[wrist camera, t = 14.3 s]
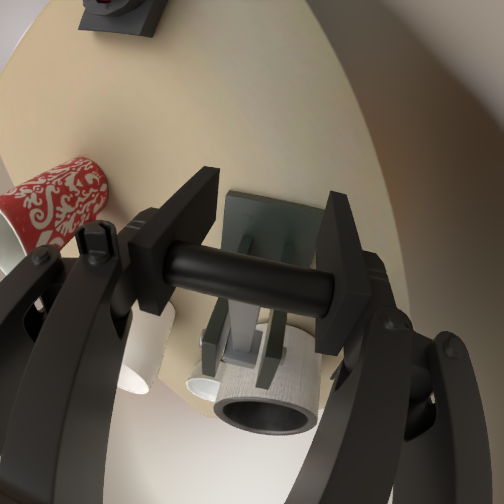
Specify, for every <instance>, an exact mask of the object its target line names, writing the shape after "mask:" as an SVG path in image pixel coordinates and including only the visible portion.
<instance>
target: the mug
mask: <svg viewBox="0 0 504 504" xmlns="http://www.w3.org/2000/svg"><path fill="white" fill-rule="evenodd" d="M107 198H108V188H107V183H106V179H105V177H104V175H103V173H102V171H101V169H100V168H99V167H98V166H97V165H96V164H95V163H94V162H93V161H91V160H89V159H87V158H76V159H73V160H71V161H68V162H66V163H64V164H62V165H59V166H57V167H55V168H53V169H51V170H48V171H46V172H44V173H42V174H40V175H38V176H36V177H34V178H32V179H30V180H28V181H26V182H24V183H22V184H21V185H19V186H17V187H15V188H13V189H11V190H10V191H8V192H6V193H5V194H3V195H1V196H0V268H1V270H2V271H3V272H4V273H5V275H6V276H7V275H8V274H9V273H10V272H11V271H12V269H13V268H14V267H15V266H16V265H17V264H18V263H19V262H20V261H21V260H22V259H23V258H24V257H25V256H27V255H28V254H29V253H30V252H31V251H32V250H34V249H35V248H37V247H39V246H41V245H45V244H52V245H55V246H57V247H58V248H59V250H61V249H62V248H63V247H64V246H65V245H66V244H67V243H68V242H69V241H70V240H71V239H72V238H73V237H74V236H75V233H74V231H75V230H76V229H77V228H78V227H80V226H81V225H83V224H85V223H88V222H91V221H96V215H97V214H98V213H99V212H100V211H101V210H102V209H103V208H104V207H105V205H106V202H107Z"/></svg>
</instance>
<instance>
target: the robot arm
mask: <svg viewBox="0 0 504 504" xmlns="http://www.w3.org/2000/svg"><path fill="white" fill-rule="evenodd" d="M219 174H220V168H214V167H207V166H204V167H203V168H202V169H200V170H199V171H198V172H197V173H196V174H195V175H194V176H193V177H192V178H191V179H190V180H188V181H187V182H186V183H185V184H184V185H183V186H182V187H181V188H180V189H179V190H178V191H177V192H176V193H175V194H174V195H173V196H172V197H171V198H170V199H169V200H168V201H167V202H166V203H165V204H164V205H163V206H162V207H161V208H160V209H158V208H152V207H150V208H148V209H146V210H144V211H142V212H140V213H139V214H138V215H137V216H136V217H134V218H133V220H132V221H130V222H129V223H128V224H127V226H126V227H124V228H123V229H122V230H121V231H120V232H119V233H118V234H117V232H116V228H115V226H114V224H113V223H111V222H109V221H104V220H98V221H91V222H88V223H85V224H83V225H81V226H80V227H78V228H77V229H76V230H75V231H74V233H75V238H76V242H77V246H78V250H79V253H80V256H79V258H62V257H61V254H60V250H59V248H58V247H57V246H55V245H52V244H45V245H41V246H39V247H37V248H35V249H34V250H32V251H31V252H30V253H29V254H28V255H27V256H25V257H24V258H23V259H22V260H21V261H20V262H19V263H18V264H17V265H16V266H15V267H14V268H13V269H12V271H11V272H10V273H9V274H8V275H7V276H6V277H5V278H4V279H3V280H2V281H1V282H0V456H1V461H0V504H103V486H104V473H105V461H106V453H107V444H108V437H109V429H110V423H111V416H112V411H113V404H114V399H115V394H116V389H117V384H118V379H119V374H120V369H121V365H122V360H123V356H124V351H125V347H126V343H127V339H128V335H129V331H130V327H131V323H132V320H133V312H132V308H131V307H132V306H133V304H134V303H135V301H136V300H138V305H139V309H140V311H144V312H147V313H150V314H153V315H156V316H161V314H162V312H163V310H164V308H165V306H166V305H167V303H168V301H169V299H170V297H171V296H172V294H173V292H174V290H175V288H176V286H172V285H168V284H167V283H165V281H164V278H163V265H164V260H165V256H166V253H167V251H168V248H169V247H170V245H171V244H172V242H174V241H176V240H180V241H185V242H189V243H194V244H198V245H201V244H202V242H203V240H204V239H205V237H206V235H207V234H208V232H209V230H210V229H211V227H212V225H213V224H214V222H215V220H216V209H217V197H218V185H219ZM316 270H319V271H324V272H329V273H332V274H333V275H334V281H335V285H334V294H333V299H332V303H331V306H330V309H329V311H328V313H327V315H326V317H325V318H323V319H318V318H316V329H315V353H320V354H326V355H332V356H338V354H339V352H340V351H341V349H342V348H343V346H344V358H343V360H342V361H341V363H340V364H339V366H338V367H337V369H336V370H335V371H334V373H333V374H332V376H331V378H330V379H331V380H333V379H334V378H335V379H334V382H333V385H332V388H331V392H330V395H329V398H328V401H327V403H326V406H325V409H324V412H323V415H322V418H321V420H320V423H319V426H318V429H317V431H316V434H315V436H314V439H313V441H312V444H311V446H310V449H309V451H308V454H307V456H306V458H305V461H304V463H303V466H302V468H301V470H300V472H299V474H298V477H297V479H296V481H295V483H294V485H293V487H292V490H291V491H290V493H289V495H288V498H287V499H286V502H285V503H284V504H387V503H388V500H389V497H390V494H391V490H392V487H393V502H392V504H492V471H491V459H490V450H489V441H488V434H487V428H486V422H485V416H484V411H483V406H482V402H481V397H480V393H479V389H478V385H477V381H476V377H475V374H474V370H473V367H472V364H471V360H470V357H469V354H468V351H467V348H466V346H465V344H464V343H463V341H462V340H461V339H460V338H459V337H458V336H456V335H455V334H454V333H451V332H448V331H443V332H440V333H439V334H438V335H437V336H436V337H435V338H434V340H432V339H430V338H427V337H425V336H423V335H421V334H419V333H416V332H415V331H413V326H412V323H411V321H410V319H409V318H408V316H407V315H406V314H405V313H404V312H402V311H401V310H399V309H398V308H397V307H396V304H395V300H394V296H393V293H392V289H391V286H390V282H389V279H388V276H387V274H386V269H385V266H384V263H383V262H382V260H381V259H380V258H379V257H378V255H377V254H376V253H372V252H368V251H363V250H362V248H361V244H360V240H359V236H358V232H357V229H356V225H355V222H354V218H353V215H352V211H351V208H350V205H349V201H348V198H347V195H346V194H342V193H338V192H334V191H330V194H329V197H328V201H327V205H326V208H325V212H324V215H323V219H322V222H321V226H320V229H319V232H318V236H317V239H316ZM38 298H39V299H40V300H41V303H42V305H43V308H42V309H40V310H37V309H36V307H35V305H34V303H35V301H36V300H37V299H38ZM433 394H434V397H435V403H434V404H433V403H432V401H431V396H432V395H433ZM1 454H2V455H1Z"/></svg>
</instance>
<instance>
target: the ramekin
mask: <svg viewBox="0 0 504 504" xmlns="http://www.w3.org/2000/svg"><path fill="white" fill-rule="evenodd" d="M225 365H226V363H225V362H222V361H220V363H219V366H218V369H217V372H216V376H215V377H210V376H206V375H203V374H202V360H201V361H199V362H198V363H197V364H196V365H195V367H194V369H193V371H192V373H191V375H190V377H189V378H188V380H187V381H186V386H187V388H188V389H189V391H191V392H192V393H193V394H195V395H196V396H198V397H200V398H202V399H205V400H207V401H211V402H215V400H216V397H217V394H218V390H219V387H220V383H221V379H222V376H223V372H224V368H225Z"/></svg>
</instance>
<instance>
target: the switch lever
mask: <svg viewBox="0 0 504 504" xmlns="http://www.w3.org/2000/svg"><path fill="white" fill-rule="evenodd" d="M163 278H164V281H165V283H167V284H168V285H172V286H176V287H180V288H184V289H187V290H191V291H195V292H199V293H203V294H207V295H212V296H216V297H220V298H224V299H228V303H229V312H230V322H231V327H230V331H229V335H228V339H227V342H226V346H225V350H224V354H223V359H224V361H225V363H228V364H232V365H237V366H241V367H245V368H250V369H254V367H255V365H256V362H257V357H258V353H259V348H260V344H261V340H262V335H263V331H259V330H255V329H256V325H257V321H258V317H259V312H260V308H261V307H264V308H269V309H273V310H278V311H283V312H288V313H293V314H298V315H303V316H308V317H313V318H318V319H323V318H325V317H326V315H327V313H328V311H329V309H330V306H331V303H332V299H333V294H334V285H335V281H334V275H333V274H332V273H329V272H324V271H319V270H315V269H310V268H305V267H301V266H296V265H291V264H287V263H282V262H277V261H273V260H268V259H263V258H259V257H254V256H249V255H245V254H240V253H235V252H231V251H226V250H221V249H217V248H212V247H208V246H203V245H198V244H194V243H189V242H185V241H180V240H176V241H174V242H172V244H171V245H170V247H169V248H168V251H167V253H166V256H165V260H164V265H163Z"/></svg>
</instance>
